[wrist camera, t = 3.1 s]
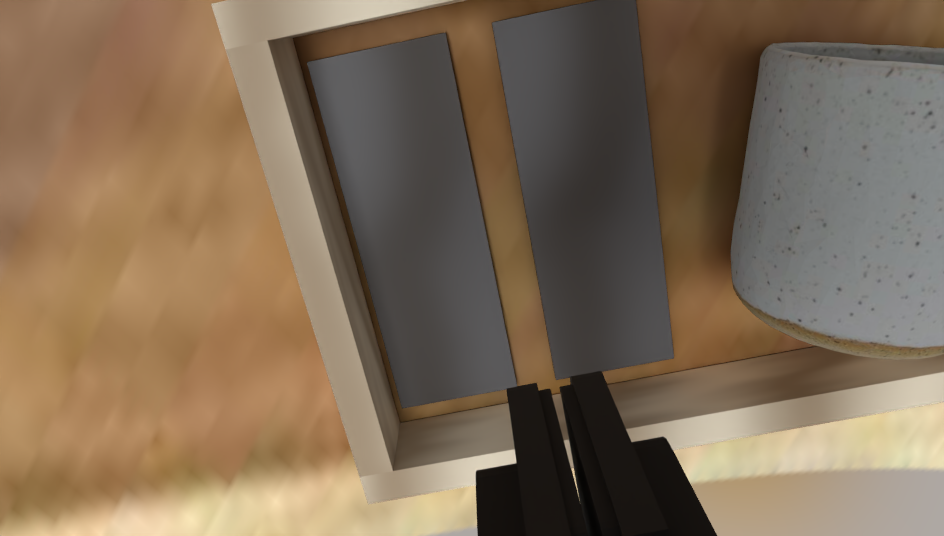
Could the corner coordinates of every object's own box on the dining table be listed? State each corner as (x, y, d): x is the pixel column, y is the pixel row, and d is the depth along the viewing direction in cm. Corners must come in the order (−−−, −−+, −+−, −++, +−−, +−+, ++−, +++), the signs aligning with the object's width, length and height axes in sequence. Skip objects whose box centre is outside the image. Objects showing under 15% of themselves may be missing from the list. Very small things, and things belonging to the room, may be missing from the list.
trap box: (1313, -229, 19) (1460, -272, 16) (1207, 302, 25) (1301, 338, 22) (244, 5, 21) (211, 3, 18) (378, 453, 27) (368, 504, 24)
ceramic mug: (690, 277, 24) (793, 385, 17) (721, 40, 22) (859, 51, 14) (973, 275, 25) (1188, 380, 18) (1039, 42, 22) (1329, 54, 15)
